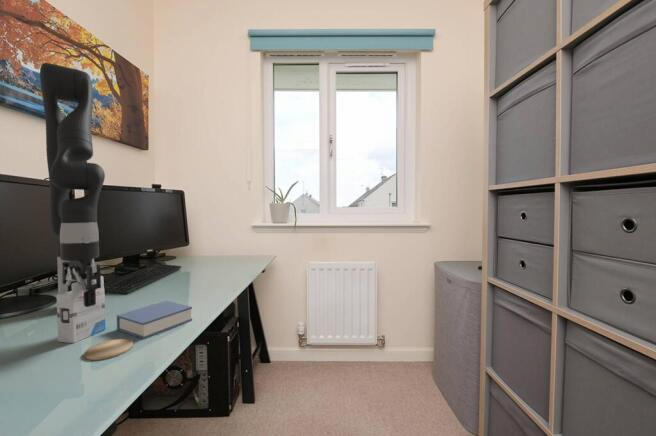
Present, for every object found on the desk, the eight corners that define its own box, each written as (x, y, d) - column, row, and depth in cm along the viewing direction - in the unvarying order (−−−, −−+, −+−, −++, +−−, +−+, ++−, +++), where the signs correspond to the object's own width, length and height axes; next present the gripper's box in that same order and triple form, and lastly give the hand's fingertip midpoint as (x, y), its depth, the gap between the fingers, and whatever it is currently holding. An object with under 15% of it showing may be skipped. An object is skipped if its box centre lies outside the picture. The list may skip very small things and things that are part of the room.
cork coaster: (76, 354, 66) (76, 351, 66) (120, 338, 74) (120, 336, 74) (97, 364, 61) (96, 361, 61) (141, 346, 69) (141, 343, 69)
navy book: (116, 329, 79) (116, 315, 79) (166, 313, 91) (166, 300, 91) (143, 339, 73) (142, 323, 73) (192, 320, 86) (192, 306, 85)
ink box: (91, 328, 80) (90, 274, 80) (106, 329, 79) (105, 275, 79) (56, 342, 72) (55, 282, 71) (72, 343, 71) (71, 283, 70)
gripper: (48, 240, 74) (50, 303, 75) (75, 243, 68) (77, 312, 68) (84, 238, 81) (85, 296, 81) (111, 240, 74) (113, 303, 75)
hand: (81, 303), depth 75 cm, fingers open, 8 cm apart
